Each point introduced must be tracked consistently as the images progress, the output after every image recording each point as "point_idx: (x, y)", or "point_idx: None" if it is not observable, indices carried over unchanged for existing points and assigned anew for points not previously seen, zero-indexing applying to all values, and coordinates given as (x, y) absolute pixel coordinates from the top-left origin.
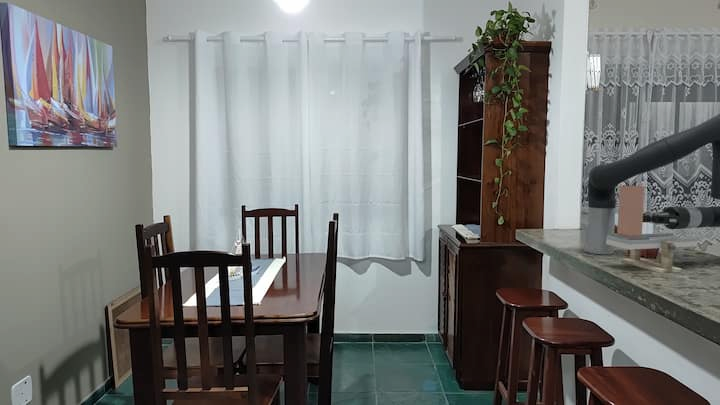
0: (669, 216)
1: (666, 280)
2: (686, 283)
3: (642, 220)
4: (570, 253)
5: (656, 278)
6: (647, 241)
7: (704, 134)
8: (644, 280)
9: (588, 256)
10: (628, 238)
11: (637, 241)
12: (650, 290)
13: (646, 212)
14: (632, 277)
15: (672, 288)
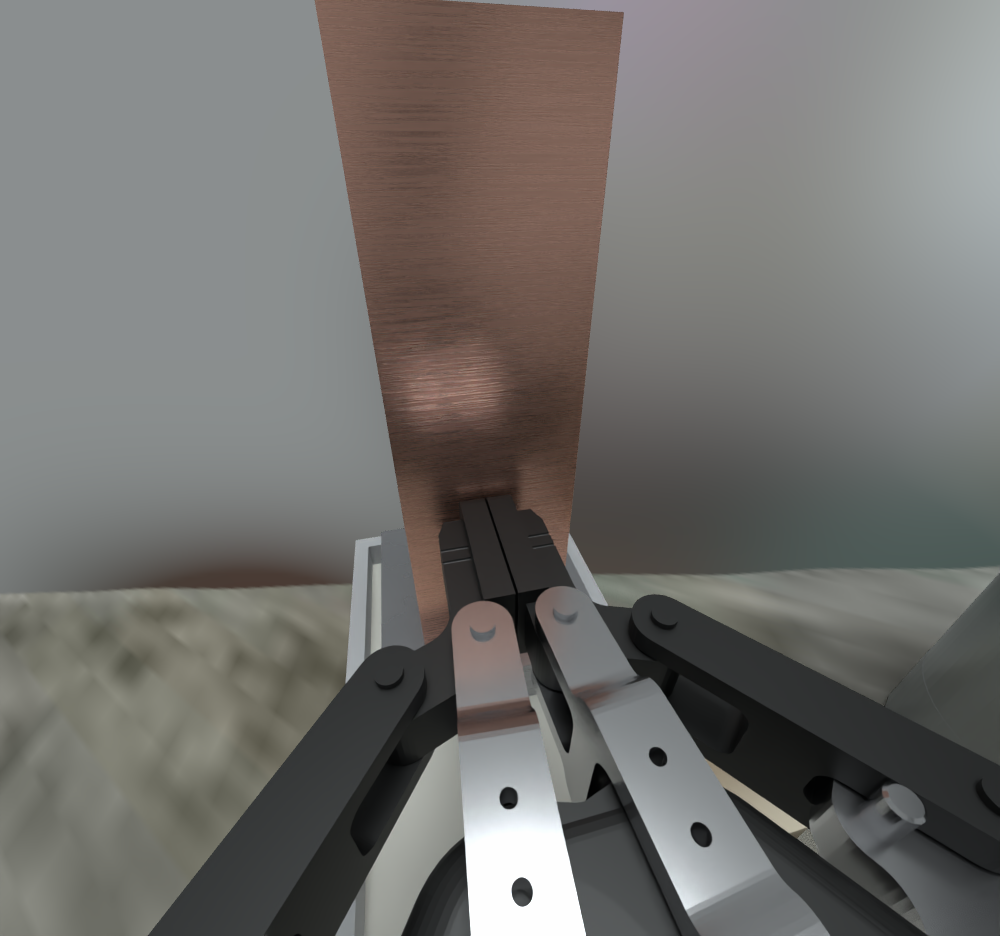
0: (193, 921)
1: (151, 769)
2: (16, 866)
3: (407, 538)
4: (817, 586)
5: (215, 736)
6: (348, 674)
7: None
8: (219, 651)
9: (772, 639)
10: (382, 540)
11: (353, 592)
12: (101, 594)
13: (986, 778)
14: (287, 629)
15: (41, 696)
